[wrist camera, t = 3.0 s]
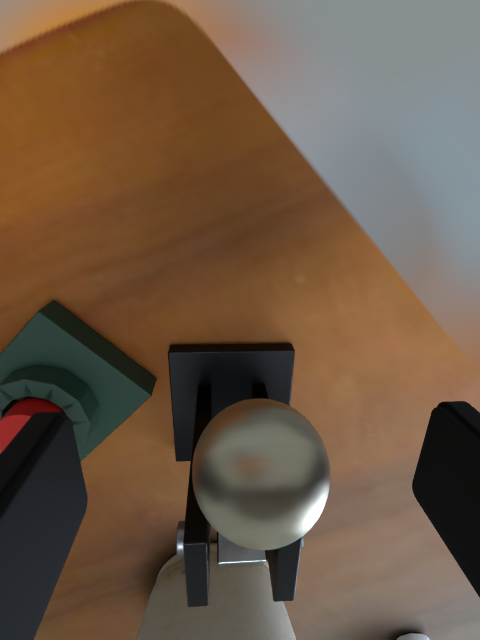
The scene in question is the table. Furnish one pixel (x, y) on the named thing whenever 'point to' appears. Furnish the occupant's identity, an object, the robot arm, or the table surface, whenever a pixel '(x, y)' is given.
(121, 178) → the table surface
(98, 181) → the table surface
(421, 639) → the plain white apple
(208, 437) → the lever
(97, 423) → the button box
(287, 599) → the bracket
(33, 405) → the button
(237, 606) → the jug
